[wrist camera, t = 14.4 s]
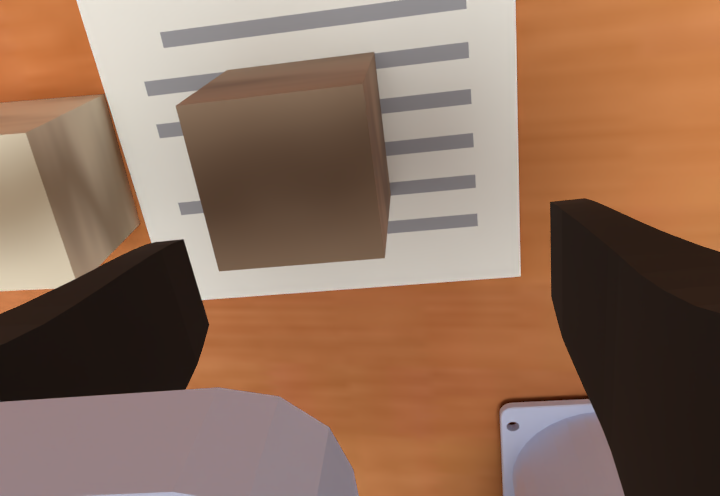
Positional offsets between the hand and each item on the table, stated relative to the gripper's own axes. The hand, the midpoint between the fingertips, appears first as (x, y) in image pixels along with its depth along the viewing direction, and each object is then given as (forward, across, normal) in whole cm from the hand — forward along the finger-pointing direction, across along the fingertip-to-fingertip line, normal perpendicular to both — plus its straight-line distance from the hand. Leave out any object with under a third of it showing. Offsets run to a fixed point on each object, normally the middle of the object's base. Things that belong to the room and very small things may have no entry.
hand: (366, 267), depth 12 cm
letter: (+10, +3, 0) cm, 11 cm away
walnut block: (+10, +3, 0) cm, 11 cm away
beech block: (+10, +12, 0) cm, 16 cm away
